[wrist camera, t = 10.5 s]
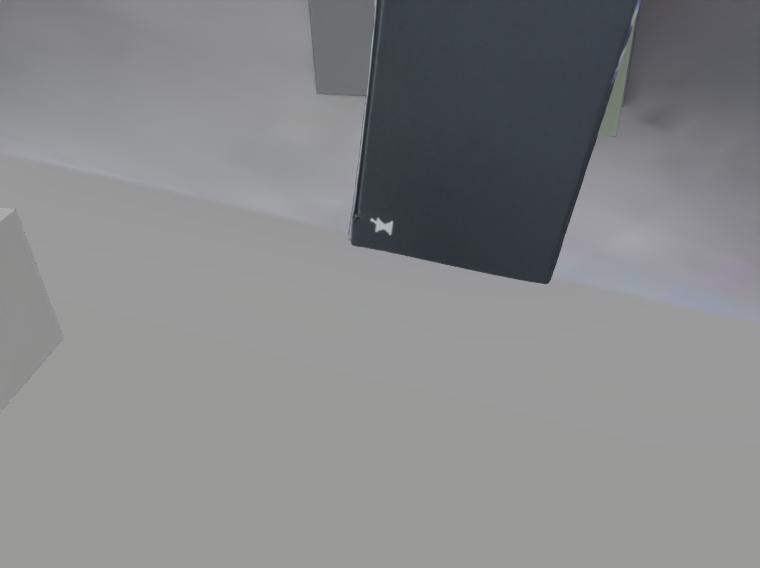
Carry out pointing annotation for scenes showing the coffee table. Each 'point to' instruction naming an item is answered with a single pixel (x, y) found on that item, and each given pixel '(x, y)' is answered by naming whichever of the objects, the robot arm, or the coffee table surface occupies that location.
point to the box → (483, 127)
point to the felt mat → (350, 45)
